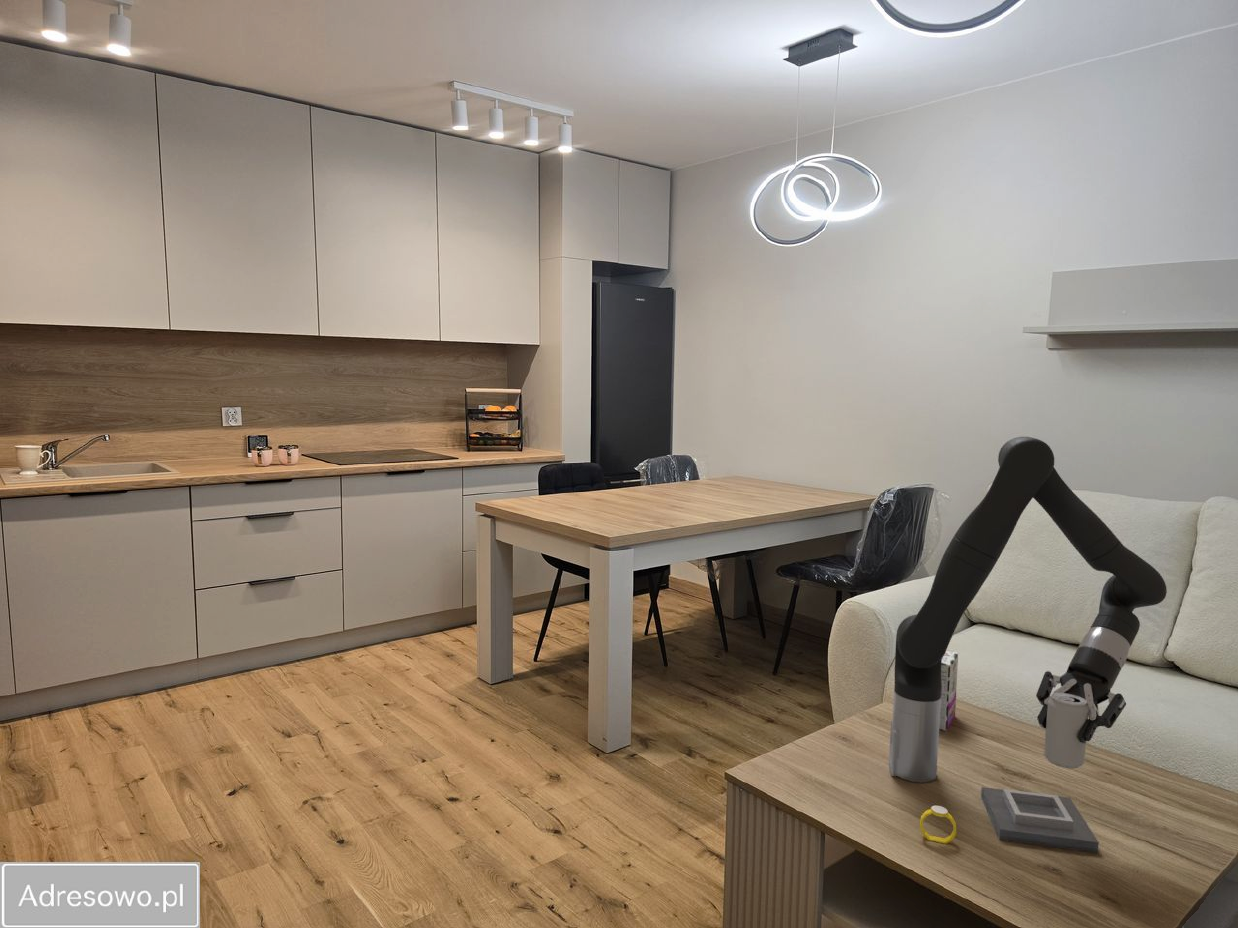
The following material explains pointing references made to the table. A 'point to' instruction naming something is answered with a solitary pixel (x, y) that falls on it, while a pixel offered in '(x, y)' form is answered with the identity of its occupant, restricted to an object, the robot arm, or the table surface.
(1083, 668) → the robot arm
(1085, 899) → the table surface
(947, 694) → the candy bar box
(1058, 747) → the beverage can
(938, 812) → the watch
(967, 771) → the table surface
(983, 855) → the table surface
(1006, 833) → the mounting plate
